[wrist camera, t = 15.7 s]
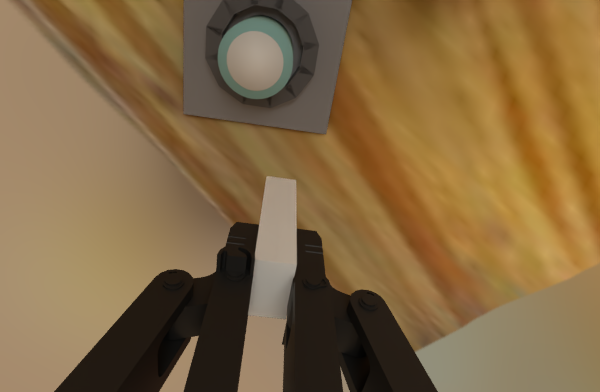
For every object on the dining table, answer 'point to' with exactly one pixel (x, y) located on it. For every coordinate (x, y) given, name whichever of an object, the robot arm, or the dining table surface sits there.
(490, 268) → the dining table surface
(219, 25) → the square plate with ring
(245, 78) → the cap
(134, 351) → the robot arm
